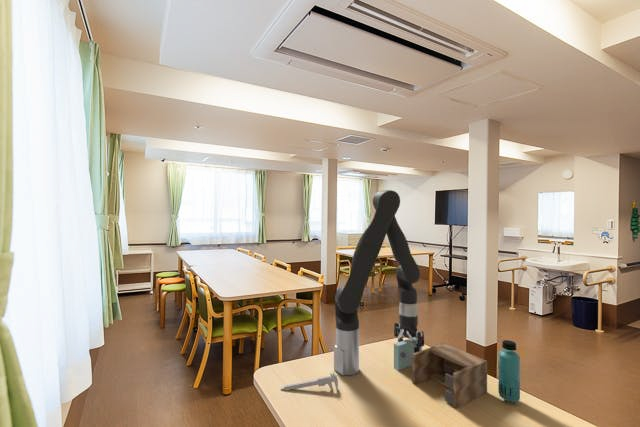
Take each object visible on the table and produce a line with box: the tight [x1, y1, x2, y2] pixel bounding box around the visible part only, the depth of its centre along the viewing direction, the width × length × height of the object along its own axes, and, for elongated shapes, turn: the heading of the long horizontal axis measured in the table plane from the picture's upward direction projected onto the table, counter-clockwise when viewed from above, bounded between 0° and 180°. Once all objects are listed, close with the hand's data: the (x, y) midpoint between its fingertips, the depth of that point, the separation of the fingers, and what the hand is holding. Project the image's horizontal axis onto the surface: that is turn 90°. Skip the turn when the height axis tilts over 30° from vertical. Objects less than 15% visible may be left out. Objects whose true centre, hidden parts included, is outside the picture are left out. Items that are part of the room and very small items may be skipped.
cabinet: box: [411, 343, 488, 409], centre depth 115 cm, size 18×18×11 cm
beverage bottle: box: [497, 339, 521, 403], centre depth 107 cm, size 6×7×20 cm
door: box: [393, 337, 423, 371], centre depth 132 cm, size 4×14×10 cm, turn 122°
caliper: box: [281, 372, 339, 391], centre depth 114 cm, size 20×1×6 cm, turn 90°
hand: (408, 351), depth 133 cm, fingers open, 8 cm apart
